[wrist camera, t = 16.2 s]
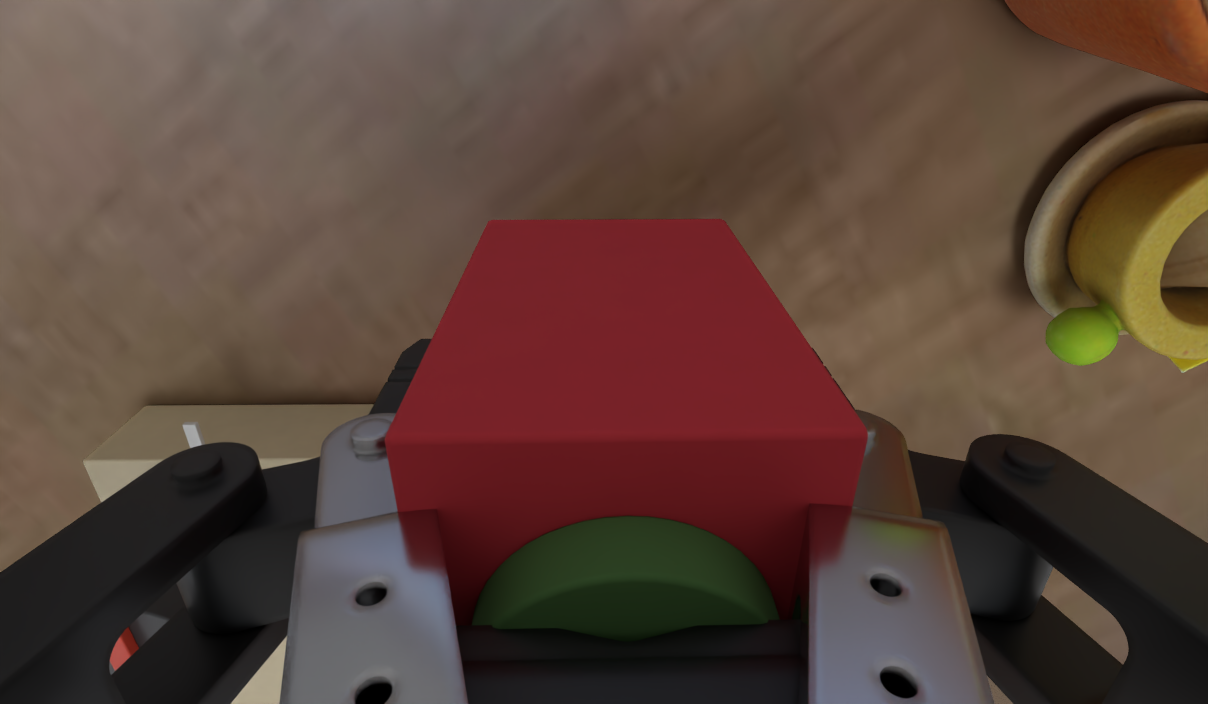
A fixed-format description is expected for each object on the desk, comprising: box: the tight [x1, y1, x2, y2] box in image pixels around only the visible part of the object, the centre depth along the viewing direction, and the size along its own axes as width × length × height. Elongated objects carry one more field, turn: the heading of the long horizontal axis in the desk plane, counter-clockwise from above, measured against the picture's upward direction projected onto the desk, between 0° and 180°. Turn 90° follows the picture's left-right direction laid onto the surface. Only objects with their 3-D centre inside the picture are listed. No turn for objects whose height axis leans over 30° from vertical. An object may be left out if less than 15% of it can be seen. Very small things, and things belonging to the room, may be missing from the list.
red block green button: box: [385, 219, 868, 642], centre depth 10 cm, size 4×5×8 cm
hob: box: [83, 404, 374, 704], centre depth 22 cm, size 15×12×3 cm
